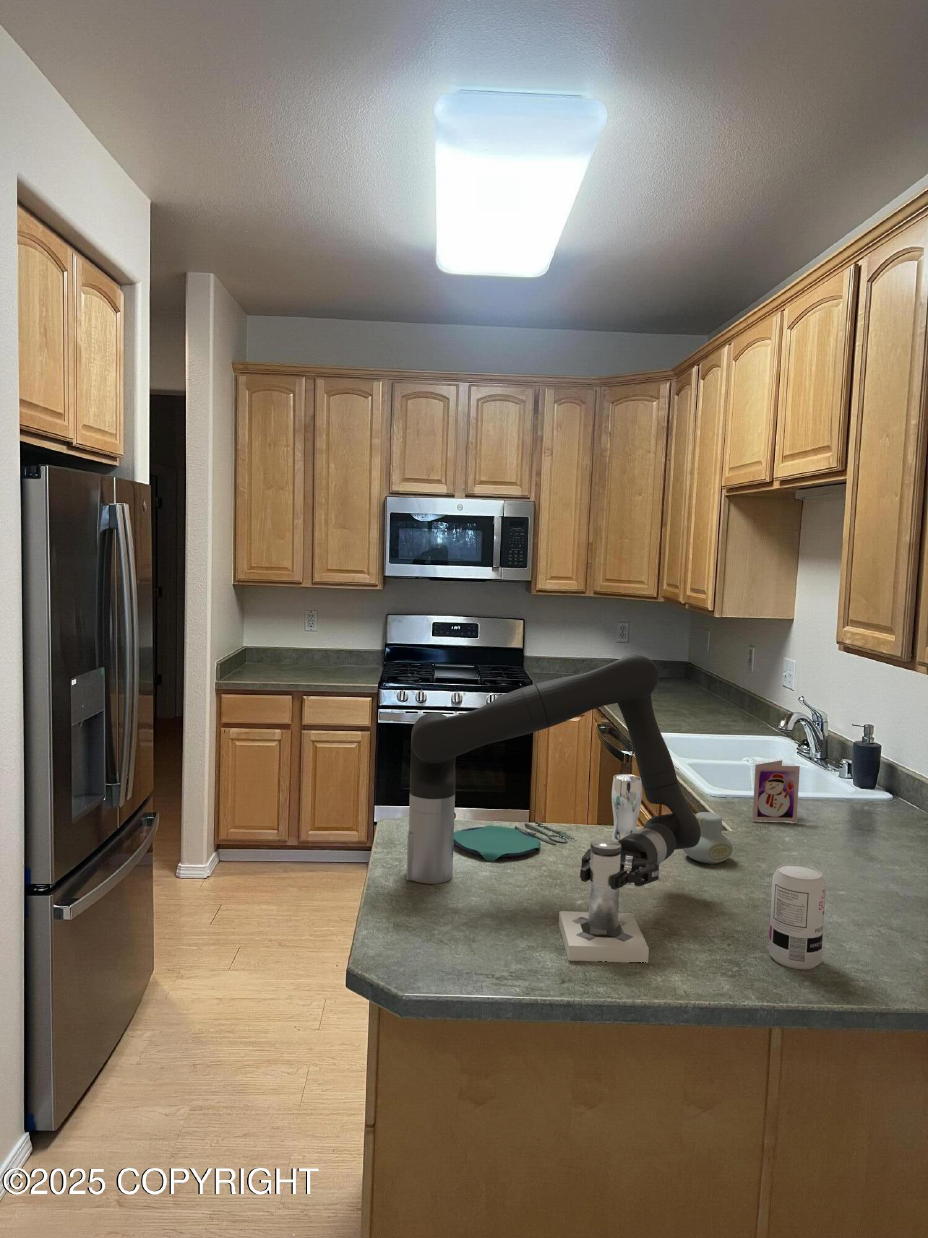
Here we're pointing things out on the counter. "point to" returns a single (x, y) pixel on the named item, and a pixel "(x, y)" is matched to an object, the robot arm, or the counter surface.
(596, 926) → the grey cylindrical piece
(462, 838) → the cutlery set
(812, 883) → the supplement can
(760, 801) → the greeting card
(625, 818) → the beer glass
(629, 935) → the mount plate
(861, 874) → the counter surface
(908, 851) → the counter surface
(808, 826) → the counter surface
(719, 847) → the air freshener
